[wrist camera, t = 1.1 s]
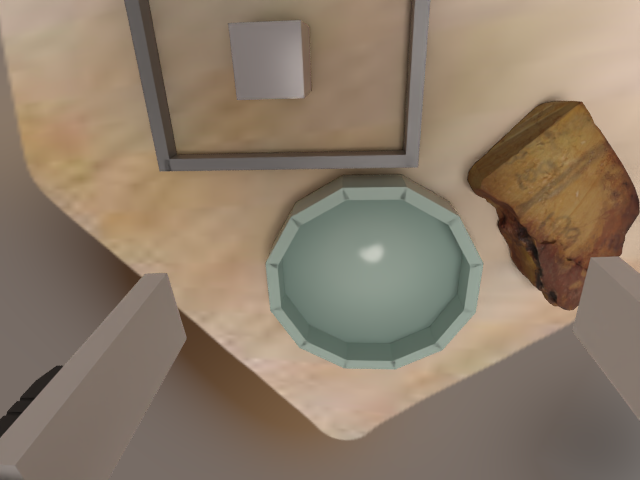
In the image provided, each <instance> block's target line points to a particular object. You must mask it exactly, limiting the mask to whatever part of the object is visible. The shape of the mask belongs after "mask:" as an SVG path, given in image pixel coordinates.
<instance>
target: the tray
mask: <svg viewBox="0 0 640 480" xmlns="http://www.w3.org/2000/svg"><path fill="white" fill-rule="evenodd" d="M124 1H125V6H126V11H127V16H128V20H129V25H130V30H131V35H132V40H133V45H134V49H135V54H136V59H137V64H138V69H139V73H140V78H141V83H142V88H143V93H144V98H145V102H146V107H147V112H148V117H149V122H150V126H151V131H152V136H153V141H154V146H155V151H156V155H157V160H158V165H159V170H160V171H212V170H277V169H342V168H407V167H418V161H419V147H420V134H421V120H422V107H423V93H424V80H425V66H426V52H427V39H428V25H429V12H430V0H412V6H411V24H410V41H409V59H408V77H407V94H406V112H405V130H404V147H403V150H397V151H342V152H288V153H234V154H179V155H177V153H176V147H175V142H174V136H173V131H172V126H171V120H170V115H169V110H168V104H167V99H166V93H165V88H164V83H163V77H162V72H161V66H160V61H159V56H158V50H157V45H156V39H155V34H154V29H153V23H152V18H151V12H150V7H149V2H148V0H124Z"/></svg>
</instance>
